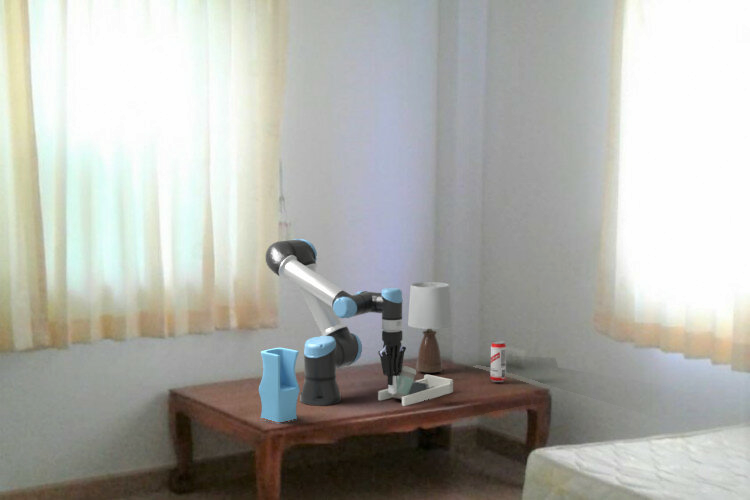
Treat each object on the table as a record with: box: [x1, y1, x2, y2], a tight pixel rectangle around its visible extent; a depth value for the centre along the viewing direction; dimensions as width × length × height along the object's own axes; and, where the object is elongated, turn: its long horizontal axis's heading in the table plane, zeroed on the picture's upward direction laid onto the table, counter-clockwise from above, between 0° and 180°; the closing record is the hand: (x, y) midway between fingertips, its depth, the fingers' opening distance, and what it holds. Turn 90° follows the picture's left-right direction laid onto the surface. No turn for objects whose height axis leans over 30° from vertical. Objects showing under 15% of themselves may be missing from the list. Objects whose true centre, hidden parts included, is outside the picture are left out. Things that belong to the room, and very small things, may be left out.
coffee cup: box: [391, 364, 417, 401], centre depth 341 cm, size 8×8×12 cm
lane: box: [377, 373, 454, 407], centre depth 347 cm, size 29×13×5 cm, turn 137°
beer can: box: [489, 340, 507, 383], centre depth 371 cm, size 6×6×16 cm
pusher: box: [408, 380, 434, 395], centre depth 351 cm, size 10×9×5 cm
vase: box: [258, 347, 300, 422], centre depth 312 cm, size 10×10×25 cm
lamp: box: [407, 281, 452, 374], centre depth 389 cm, size 19×19×37 cm
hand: (392, 393), depth 337 cm, fingers closed
